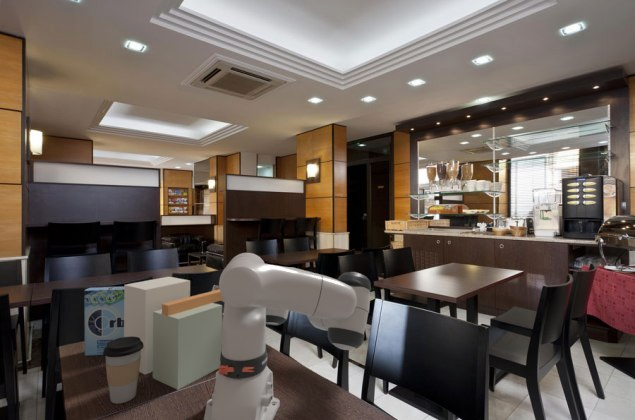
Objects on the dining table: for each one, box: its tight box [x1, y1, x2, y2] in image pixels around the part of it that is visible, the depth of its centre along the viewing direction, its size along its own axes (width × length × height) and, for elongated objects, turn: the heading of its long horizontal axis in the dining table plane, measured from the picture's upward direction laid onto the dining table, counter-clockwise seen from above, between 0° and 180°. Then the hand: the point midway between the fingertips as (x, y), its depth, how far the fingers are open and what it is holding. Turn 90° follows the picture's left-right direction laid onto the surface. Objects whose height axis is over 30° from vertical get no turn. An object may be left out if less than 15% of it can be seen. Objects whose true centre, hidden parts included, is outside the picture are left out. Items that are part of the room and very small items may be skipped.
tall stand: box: [124, 276, 191, 375], centre depth 111 cm, size 16×12×26 cm
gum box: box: [83, 286, 124, 356], centre depth 117 cm, size 20×5×23 cm, turn 98°
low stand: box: [152, 302, 223, 391], centre depth 103 cm, size 16×12×20 cm
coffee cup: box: [102, 337, 144, 405], centre depth 89 cm, size 9×9×15 cm
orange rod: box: [162, 289, 224, 316], centre depth 107 cm, size 26×3×3 cm, turn 148°
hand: (221, 288), depth 114 cm, fingers open, 6 cm apart
